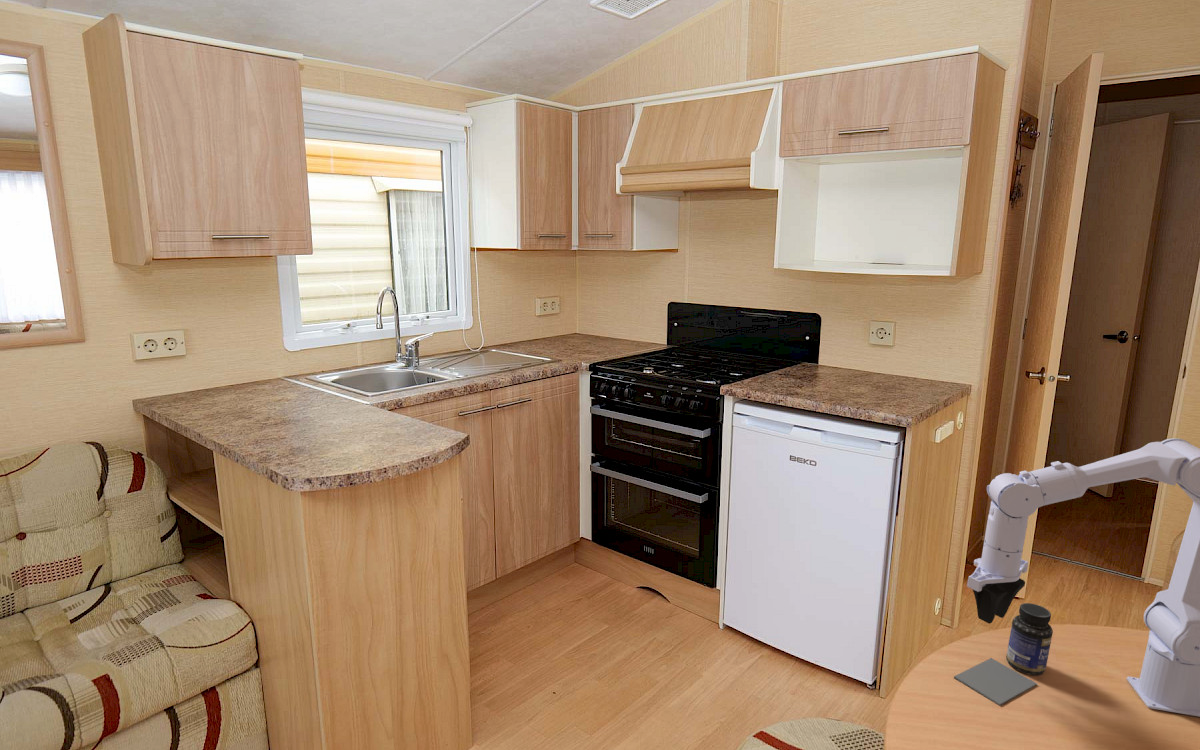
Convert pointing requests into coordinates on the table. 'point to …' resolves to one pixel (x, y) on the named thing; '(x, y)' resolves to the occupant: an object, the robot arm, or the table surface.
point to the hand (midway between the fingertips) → (991, 617)
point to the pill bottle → (1030, 639)
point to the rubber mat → (995, 681)
